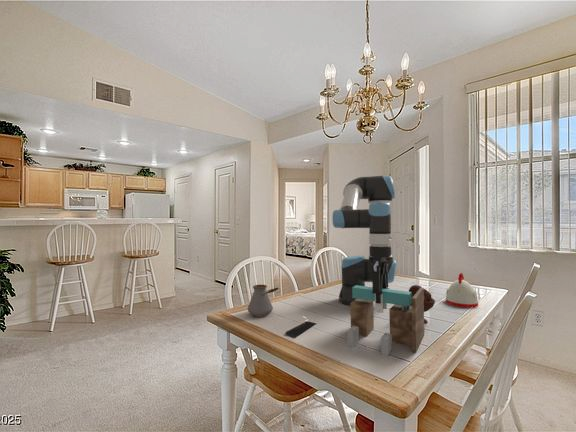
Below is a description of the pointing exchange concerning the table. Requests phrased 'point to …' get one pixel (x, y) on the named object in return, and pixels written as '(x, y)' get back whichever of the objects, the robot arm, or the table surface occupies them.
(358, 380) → the table surface
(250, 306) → the coffee pot
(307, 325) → the phone
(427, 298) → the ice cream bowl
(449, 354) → the table surface
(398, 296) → the teal rail
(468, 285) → the white and red dome
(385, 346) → the grey stand
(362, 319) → the block
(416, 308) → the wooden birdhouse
